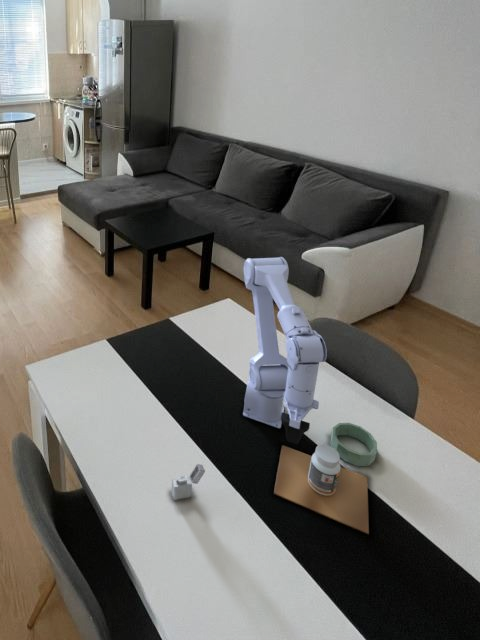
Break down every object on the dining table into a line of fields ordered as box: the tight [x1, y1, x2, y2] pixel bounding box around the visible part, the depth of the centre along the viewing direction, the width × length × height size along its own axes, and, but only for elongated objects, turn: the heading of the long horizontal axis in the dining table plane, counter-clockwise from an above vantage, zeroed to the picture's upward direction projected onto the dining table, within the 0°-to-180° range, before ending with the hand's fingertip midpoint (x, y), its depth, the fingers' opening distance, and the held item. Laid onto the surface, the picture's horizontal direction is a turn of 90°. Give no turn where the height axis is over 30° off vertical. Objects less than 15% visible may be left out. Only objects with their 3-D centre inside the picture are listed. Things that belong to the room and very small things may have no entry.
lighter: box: [171, 463, 206, 501], centre depth 96 cm, size 7×2×8 cm, turn 99°
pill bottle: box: [308, 443, 342, 496], centre depth 95 cm, size 6×6×10 cm
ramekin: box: [329, 422, 378, 467], centre depth 105 cm, size 9×9×4 cm
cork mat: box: [273, 444, 370, 535], centre depth 97 cm, size 18×14×1 cm
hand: (294, 429), depth 100 cm, fingers open, 7 cm apart
